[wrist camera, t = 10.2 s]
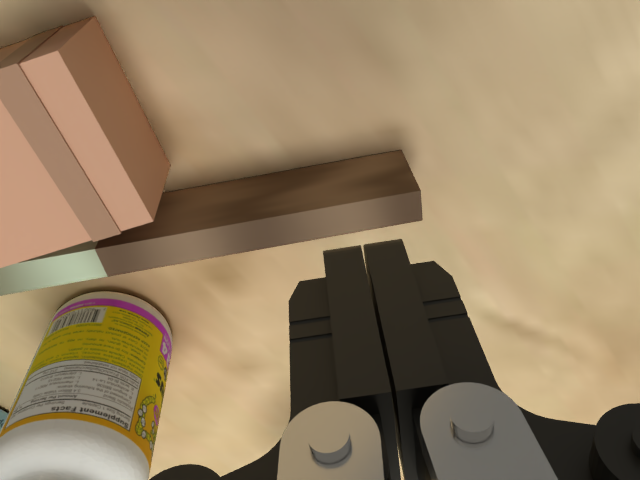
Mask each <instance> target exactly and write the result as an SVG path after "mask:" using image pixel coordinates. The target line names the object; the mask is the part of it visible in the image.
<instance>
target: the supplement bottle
mask: <svg viewBox="0 0 640 480" xmlns="http://www.w3.org/2000/svg"><path fill="white" fill-rule="evenodd" d="M171 351H172V334H171V330H170V328H169V325H168V323H167V322H166V320H165V318H164V317H163V316H162V315H161V313H160V312H159V311H158V310H157V309H155V308H154V307H153V306H151V305H150V304H149V303H147V302H145V301H144V300H142V299H140V298H137V297H134V296H131V295H127V294H123V293H118V292H109V291H100V292H92V293H87V294H84V295H81V296H78V297H76V298H73V299H71V300H70V301H68V302H67V303H65V304H64V305H63V306H62V307H60V308H59V310H58V311H57V312H56V313H55V314H54V316H53V317H52V319H51V321H50V323H49V325H48V328H47V330H46V332H45V334H44V336H43V338H42V341H41V343H40V345H39V347H38V349H37V351H36V354H35V356H34V358H33V360H32V363H31V365H30V367H29V369H28V371H27V374H26V376H25V378H24V380H23V383H22V385H21V387H20V389H19V391H18V394H17V396H16V398H15V400H14V402H13V405H12V407H11V409H10V411H9V413H8V415H7V418H6V420H5V422H4V424H3V426H2V428H1V431H0V480H148V478H149V473H150V468H151V461H152V456H153V450H154V445H155V440H156V434H157V429H158V424H159V418H160V412H161V408H162V402H163V397H164V391H165V387H166V380H167V375H168V369H169V364H170V358H171Z"/></svg>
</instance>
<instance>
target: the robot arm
mask: <svg viewBox="0 0 640 480" xmlns="http://www.w3.org/2000/svg"><path fill="white" fill-rule="evenodd" d="M323 255H324V264H325V273H326V277H325V278H318V279H312V280H305V281H299V283H298V285H297V287H296V289H295V291H294V292H293V294H292V296H291V298H290V300H289V323H290V326H289V335H290V391H291V414H290V420H289V424H288V426H287V427H286V429H285V431H284V433H283V435H282V438H281V439H280V441H279V442H278V443H277V444H276V445H275V446H274V447H273V448H272V449H271V450H270V451H269V452H268V453H267V454H265V455H264V456H262V457H261V458H259V459H258V460H256V461H254V462H252V463H250V464H248V465H246V466H244V467H241V468H239V469H237V470H235V471H233V472H230V473H228V474H226V475H224V476H222V477H220V476H219V475H218V474H217V473H215V472H214V471H213V470H211V469H209V468H207V467H204V466H200V465H193V464H187V465H179V466H175V467H172V468H169V469H167V470H164V471H162V472H160V473H159V474H157V475H155V476H154V477H152V478H151V479H150V480H401V476H400V467H399V457H398V450H399V455H400V460H401V465H402V470H403V475H404V480H640V403H636V404H626V405H621V406H618V407H615V408H613V409H611V410H609V411H608V412H606V413H605V414H604V415H603V416H602V417H601V418H600V420H599V421H598V423H597V425H590V424H583V423H575V422H568V421H561V420H554V419H549V418H545V417H542V416H538V415H535V414H533V413H531V412H528V411H526V410H524V409H523V408H521V407H519V406H518V405H517V404H516V403H515V402H514V401H513V400H512V399H511V398H510V397H508V396H507V395H506V394H504V393H503V392H502V391H501V389H500V388H499V386H498V385H497V383H496V381H495V378H494V376H493V374H492V371H491V369H490V366H489V364H488V362H487V359H486V357H485V354H484V352H483V350H482V347H481V345H480V342H479V340H478V338H477V335H476V333H475V330H474V328H473V325H472V323H471V321H470V318H469V317H468V315H467V311H466V309H465V306H464V304H463V301H462V300H461V298H460V294H459V292H458V289H457V287H456V285H455V282H454V280H453V277H452V276H451V275H450V274H449V273H448V272H446V271H445V270H444V269H443V268H442V267H440V266H439V265H438V264H437V263H436V262H435V261H430V262H423V263H417V264H410V262H409V259H408V256H407V253H406V250H405V247H404V244H403V241H402V239H398V240H391V241H385V242H378V243H371V244H365V245H364V255H365V263H366V268H365V263H364V259H363V254H362V249H361V245H359V246H353V247H346V248H340V249H333V250H326V251H323ZM366 271H367V273H366ZM397 446H398V448H397Z"/></svg>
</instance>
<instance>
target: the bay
mask: <svg viewBox="0 0 640 480" xmlns="http://www.w3.org/2000/svg"><path fill="white" fill-rule="evenodd" d="M421 220H422V205H421V190H420V188H419V186H418V184H417V182H416V180H415V178H414V176H413V173H412V171H411V169H410V167H409V165H408V163H407V161H406V159H405V157H404V154H403V152H402V150H398V151H392V152H387V153H381V154H376V155H370V156H365V157H359V158H354V159H348V160H343V161H337V162H332V163H326V164H321V165H315V166H310V167H304V168H299V169H293V170H288V171H282V172H277V173H271V174H266V175H260V176H255V177H249V178H244V179H238V180H233V181H227V182H222V183H216V184H210V185H205V186H199V187H194V188H188V189H183V190H177V191H172V192H166V193H162V195H161V199H160V202H159V205H158V208H157V212H156V215H155V218H154V221H153V222H150V223H147V224H143V225H140V226H137V227H134V228H130V229H127V230H124V231H122V233H121V234H118V235H115V236H112V237H109V238H105V239H102V240H99V241H95V242H93V241H92V240H91V241H88V242H84V243H81V244H78V245H74V246H71V247H68V248H65V249H61V250H58V251H55V252H51V253H48V254H45V255H42V256H38V257H35V258H32V259H29V260H25V261H22V262H19V263H15V264H12V265H9V266H6V267H2V268H0V296H2V295H7V294H13V293H18V292H24V291H30V290H35V289H41V288H46V287H52V286H58V285H63V284H69V283H74V282H80V281H86V280H91V279H97V278H102V277H108V276H114V275H119V274H125V273H130V272H136V271H142V270H147V269H153V268H158V267H164V266H170V265H175V264H181V263H186V262H192V261H197V260H203V259H209V258H214V257H220V256H225V255H231V254H237V253H242V252H248V251H253V250H259V249H265V248H270V247H276V246H281V245H287V244H293V243H298V242H304V241H309V240H315V239H321V238H326V237H332V236H337V235H343V234H349V233H354V232H360V231H365V230H371V229H377V228H382V227H388V226H393V225H399V224H405V223H410V222H416V221H421Z"/></svg>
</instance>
